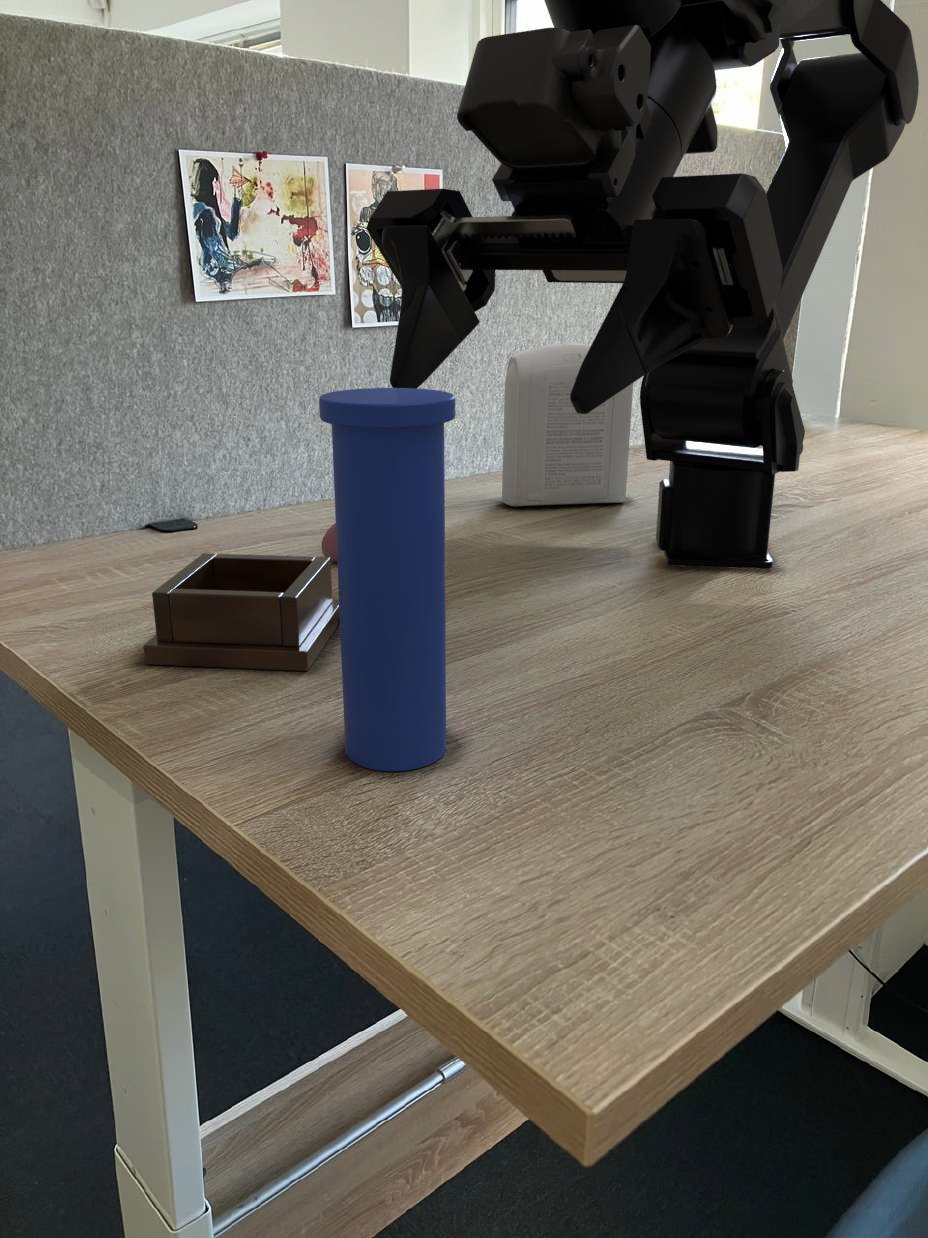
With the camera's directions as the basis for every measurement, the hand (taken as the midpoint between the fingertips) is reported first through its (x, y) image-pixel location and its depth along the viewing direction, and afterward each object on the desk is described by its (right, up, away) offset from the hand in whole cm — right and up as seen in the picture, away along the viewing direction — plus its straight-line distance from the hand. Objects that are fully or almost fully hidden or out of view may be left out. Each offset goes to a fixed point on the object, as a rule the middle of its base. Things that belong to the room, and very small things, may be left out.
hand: (481, 398), depth 43 cm
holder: (-12, -10, +10) cm, 18 cm away
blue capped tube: (-3, -14, -2) cm, 15 cm away
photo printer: (+7, 0, +40) cm, 40 cm away
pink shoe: (-6, -5, +27) cm, 28 cm away
